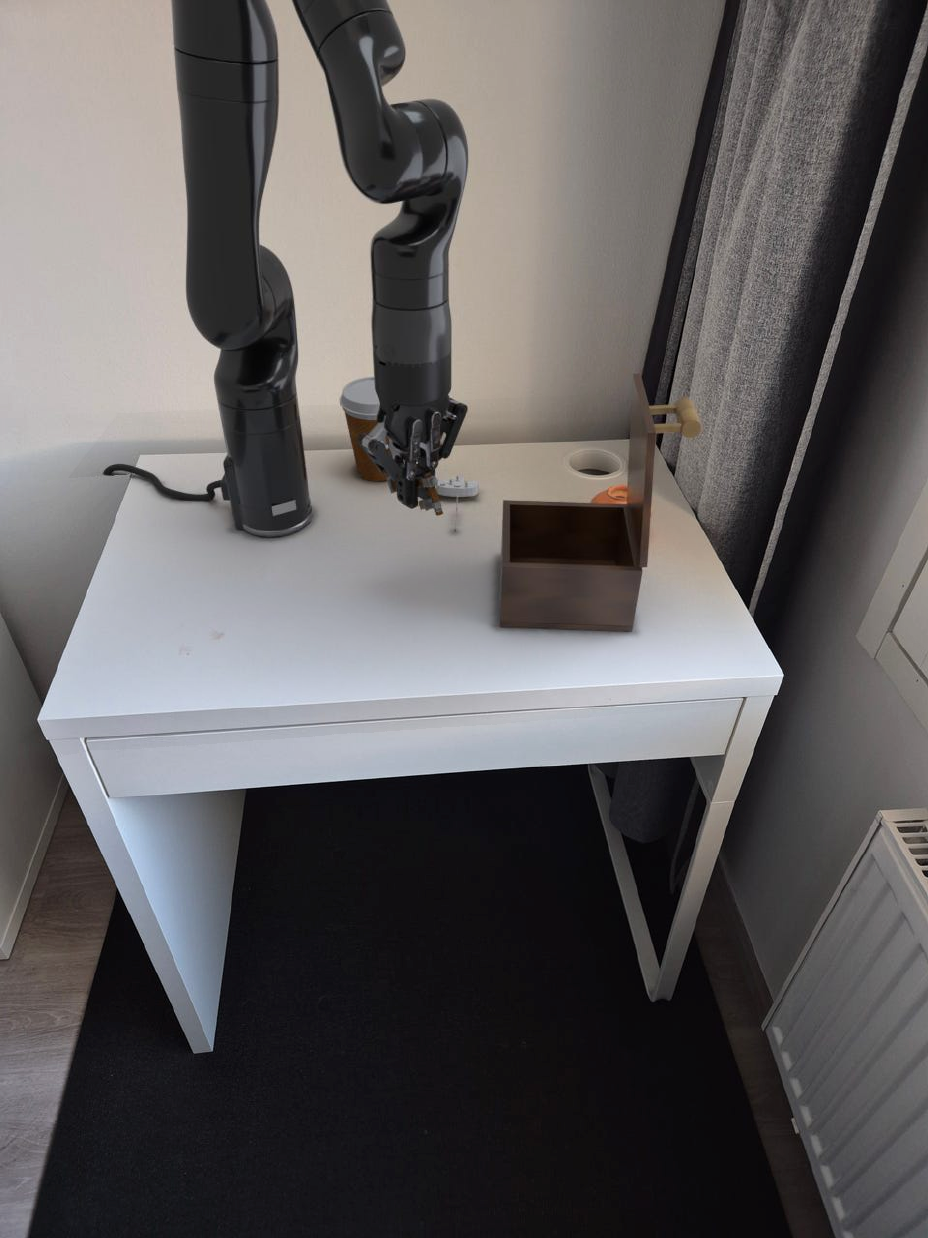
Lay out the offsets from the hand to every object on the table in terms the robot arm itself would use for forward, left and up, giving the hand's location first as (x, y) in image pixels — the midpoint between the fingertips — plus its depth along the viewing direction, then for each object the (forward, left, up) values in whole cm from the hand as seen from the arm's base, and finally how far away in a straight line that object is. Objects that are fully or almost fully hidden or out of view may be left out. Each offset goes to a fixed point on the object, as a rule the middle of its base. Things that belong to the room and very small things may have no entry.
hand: (416, 500), depth 93 cm
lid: (+23, 0, +4) cm, 23 cm away
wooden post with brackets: (0, 0, 0) cm, 0 cm away
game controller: (+3, +18, -12) cm, 22 cm away
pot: (+24, +13, -12) cm, 30 cm away
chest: (+17, 0, -12) cm, 21 cm away
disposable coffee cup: (-8, +27, -12) cm, 31 cm away
